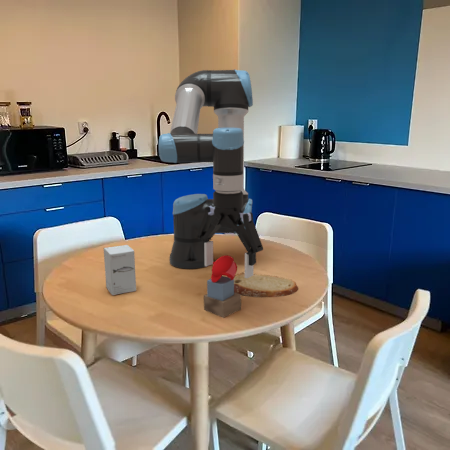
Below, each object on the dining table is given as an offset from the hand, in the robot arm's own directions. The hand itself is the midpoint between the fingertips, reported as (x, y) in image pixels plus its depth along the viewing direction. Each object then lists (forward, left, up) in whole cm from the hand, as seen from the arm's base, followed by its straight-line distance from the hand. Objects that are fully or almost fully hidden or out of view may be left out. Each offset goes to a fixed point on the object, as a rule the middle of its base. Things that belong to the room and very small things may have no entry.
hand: (228, 270), depth 119 cm
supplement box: (-33, -10, -11) cm, 36 cm away
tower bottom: (-1, -1, -11) cm, 11 cm away
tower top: (-1, -2, -7) cm, 7 cm away
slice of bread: (-2, +17, -11) cm, 21 cm away
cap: (-1, -1, -2) cm, 3 cm away
